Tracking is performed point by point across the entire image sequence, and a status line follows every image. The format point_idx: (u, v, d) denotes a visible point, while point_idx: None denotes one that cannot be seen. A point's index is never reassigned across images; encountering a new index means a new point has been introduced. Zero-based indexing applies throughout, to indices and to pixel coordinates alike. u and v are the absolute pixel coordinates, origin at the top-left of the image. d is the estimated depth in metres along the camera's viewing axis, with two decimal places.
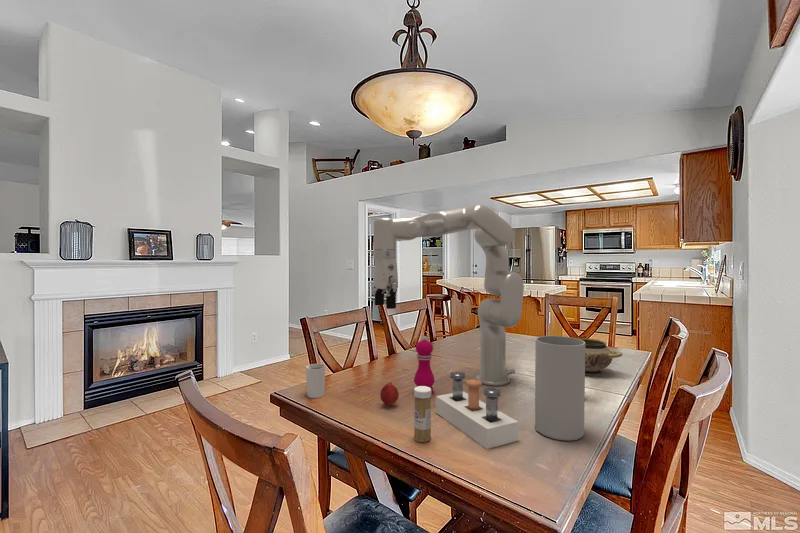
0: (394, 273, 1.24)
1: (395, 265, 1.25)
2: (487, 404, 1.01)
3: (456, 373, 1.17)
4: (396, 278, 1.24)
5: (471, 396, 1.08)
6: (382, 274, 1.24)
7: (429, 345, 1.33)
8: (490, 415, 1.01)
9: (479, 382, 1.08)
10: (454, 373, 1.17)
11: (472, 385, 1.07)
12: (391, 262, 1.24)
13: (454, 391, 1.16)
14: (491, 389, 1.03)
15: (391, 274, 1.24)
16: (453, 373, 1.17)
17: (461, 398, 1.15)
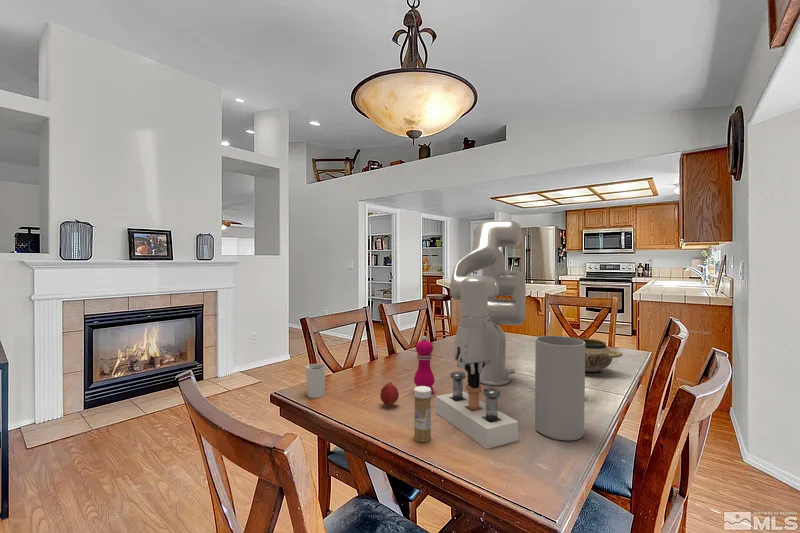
0: None
1: None
2: (487, 404, 1.01)
3: (456, 373, 1.17)
4: None
5: (471, 400, 1.08)
6: (488, 344, 1.08)
7: (429, 345, 1.33)
8: (490, 415, 1.01)
9: (479, 387, 1.08)
10: (454, 373, 1.17)
11: (472, 390, 1.07)
12: None
13: (454, 391, 1.16)
14: (491, 389, 1.03)
15: None
16: (453, 373, 1.17)
17: (461, 398, 1.15)
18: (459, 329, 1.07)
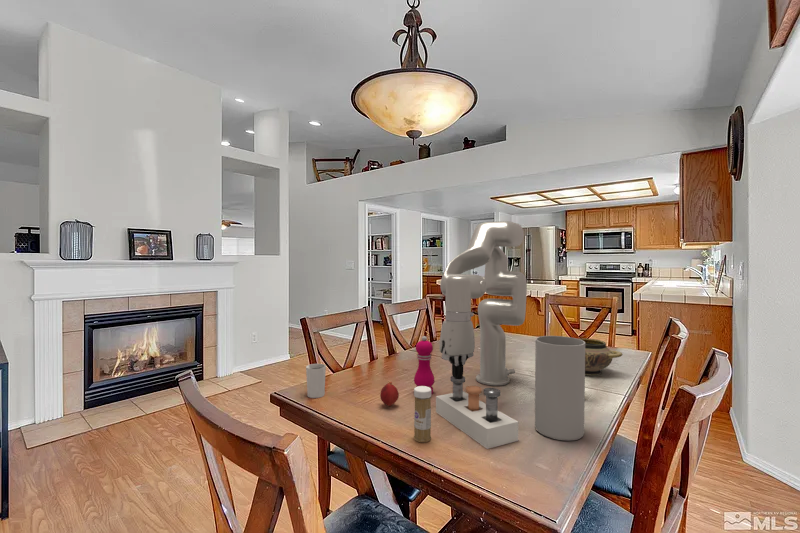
0: None
1: None
2: (487, 404, 1.01)
3: None
4: None
5: (471, 402, 1.08)
6: (471, 338, 1.15)
7: (429, 345, 1.33)
8: (490, 415, 1.01)
9: (479, 389, 1.08)
10: None
11: (472, 392, 1.07)
12: None
13: (454, 395, 1.16)
14: (491, 389, 1.03)
15: None
16: (453, 377, 1.17)
17: None
18: (444, 323, 1.14)
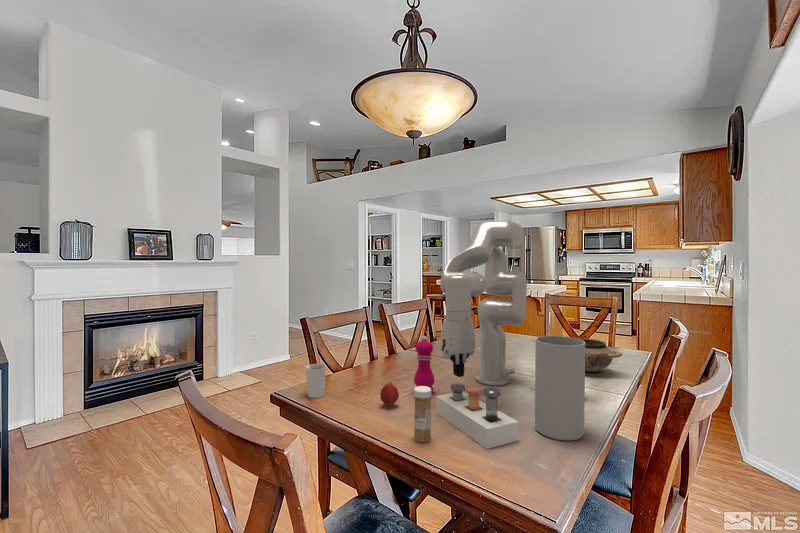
0: None
1: None
2: (487, 404, 1.01)
3: (456, 385, 1.17)
4: None
5: (471, 402, 1.08)
6: (472, 336, 1.16)
7: (429, 345, 1.33)
8: (490, 415, 1.01)
9: (479, 389, 1.08)
10: (454, 385, 1.17)
11: (472, 392, 1.07)
12: None
13: None
14: (491, 389, 1.03)
15: None
16: (453, 385, 1.17)
17: None
18: (444, 323, 1.15)
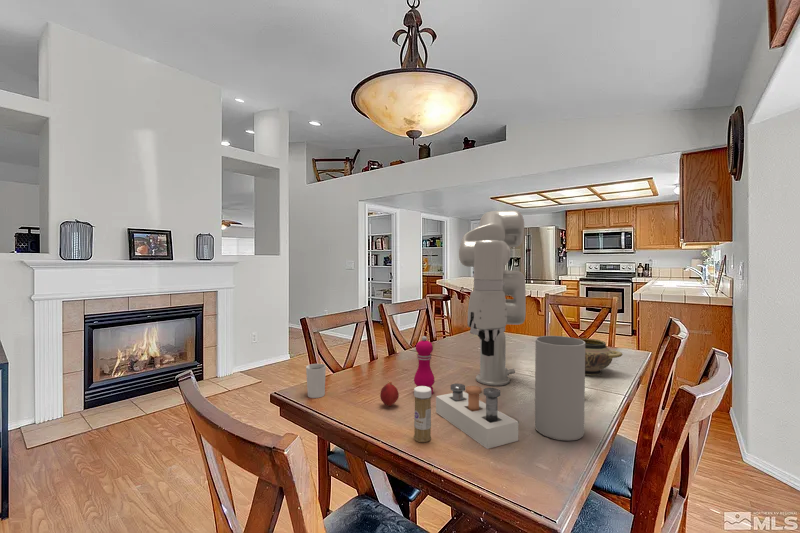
0: None
1: None
2: (487, 404, 1.01)
3: (456, 385, 1.17)
4: None
5: (471, 402, 1.08)
6: (504, 310, 1.02)
7: (429, 345, 1.33)
8: (490, 415, 1.01)
9: (479, 389, 1.08)
10: (454, 385, 1.17)
11: (472, 392, 1.07)
12: None
13: None
14: (491, 389, 1.03)
15: None
16: (453, 385, 1.17)
17: None
18: (472, 293, 1.01)
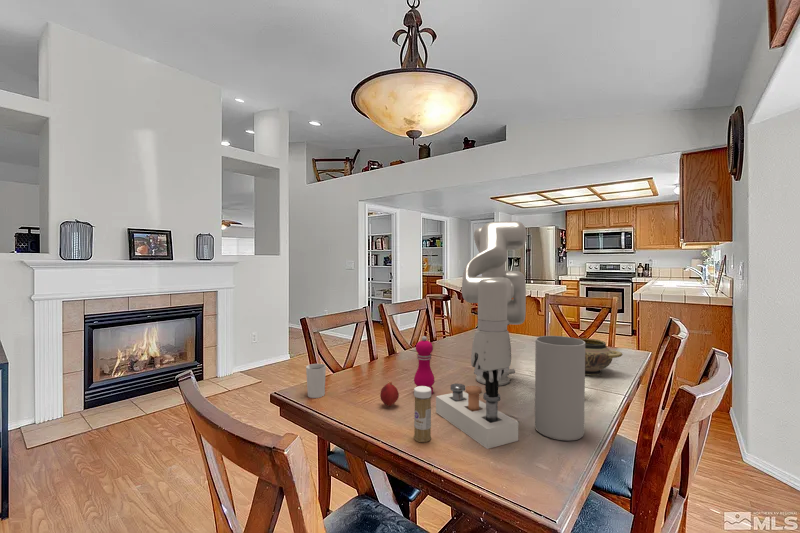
0: None
1: None
2: (487, 409, 1.01)
3: (456, 385, 1.17)
4: None
5: (471, 402, 1.08)
6: (508, 350, 1.01)
7: (429, 345, 1.33)
8: (489, 420, 1.01)
9: (479, 389, 1.08)
10: (454, 385, 1.17)
11: (472, 392, 1.07)
12: None
13: None
14: None
15: None
16: (453, 385, 1.17)
17: None
18: (476, 334, 1.00)
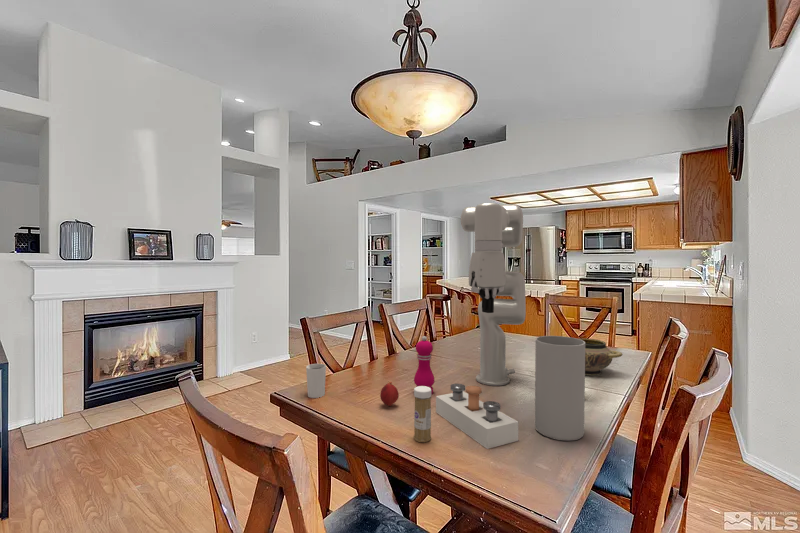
0: None
1: None
2: (487, 418, 1.01)
3: (456, 385, 1.17)
4: None
5: (471, 402, 1.08)
6: (503, 270, 1.09)
7: (429, 345, 1.33)
8: None
9: (479, 389, 1.08)
10: (454, 385, 1.17)
11: (472, 392, 1.07)
12: None
13: None
14: (491, 403, 1.03)
15: None
16: (453, 385, 1.17)
17: None
18: (473, 254, 1.08)
